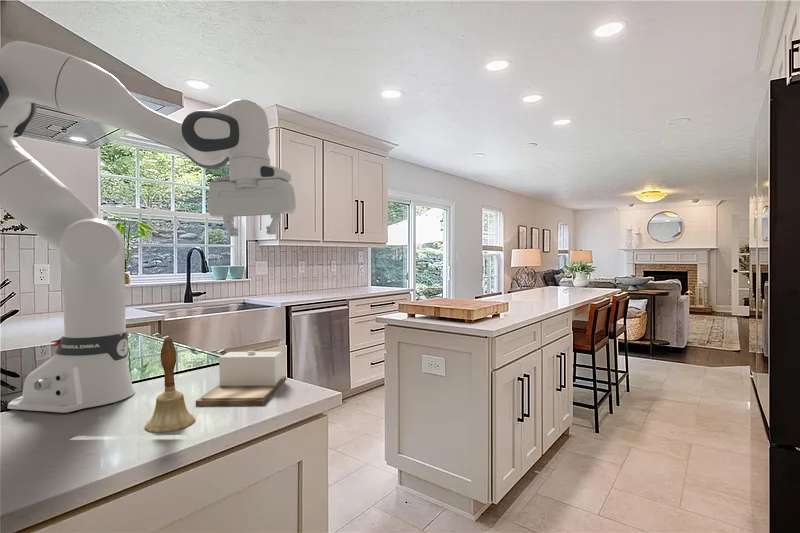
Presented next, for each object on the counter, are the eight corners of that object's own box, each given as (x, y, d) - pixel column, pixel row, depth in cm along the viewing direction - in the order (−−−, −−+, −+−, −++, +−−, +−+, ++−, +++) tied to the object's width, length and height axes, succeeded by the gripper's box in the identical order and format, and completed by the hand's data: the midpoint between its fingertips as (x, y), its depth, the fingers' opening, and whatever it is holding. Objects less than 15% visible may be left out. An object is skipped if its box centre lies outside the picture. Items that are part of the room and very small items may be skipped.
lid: (219, 385, 101) (219, 354, 101) (229, 378, 107) (229, 349, 107) (275, 385, 101) (274, 353, 101) (281, 378, 107) (281, 348, 107)
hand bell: (174, 434, 75) (173, 343, 75) (133, 431, 77) (132, 341, 77) (204, 417, 83) (203, 335, 83) (167, 414, 85) (166, 333, 85)
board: (195, 405, 90) (195, 399, 90) (230, 380, 109) (230, 375, 109) (262, 405, 90) (262, 398, 90) (286, 380, 109) (286, 374, 109)
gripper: (200, 175, 97) (202, 236, 97) (285, 168, 93) (287, 232, 93) (217, 180, 103) (219, 238, 103) (297, 174, 99) (299, 234, 99)
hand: (252, 235), depth 98 cm, fingers open, 8 cm apart
